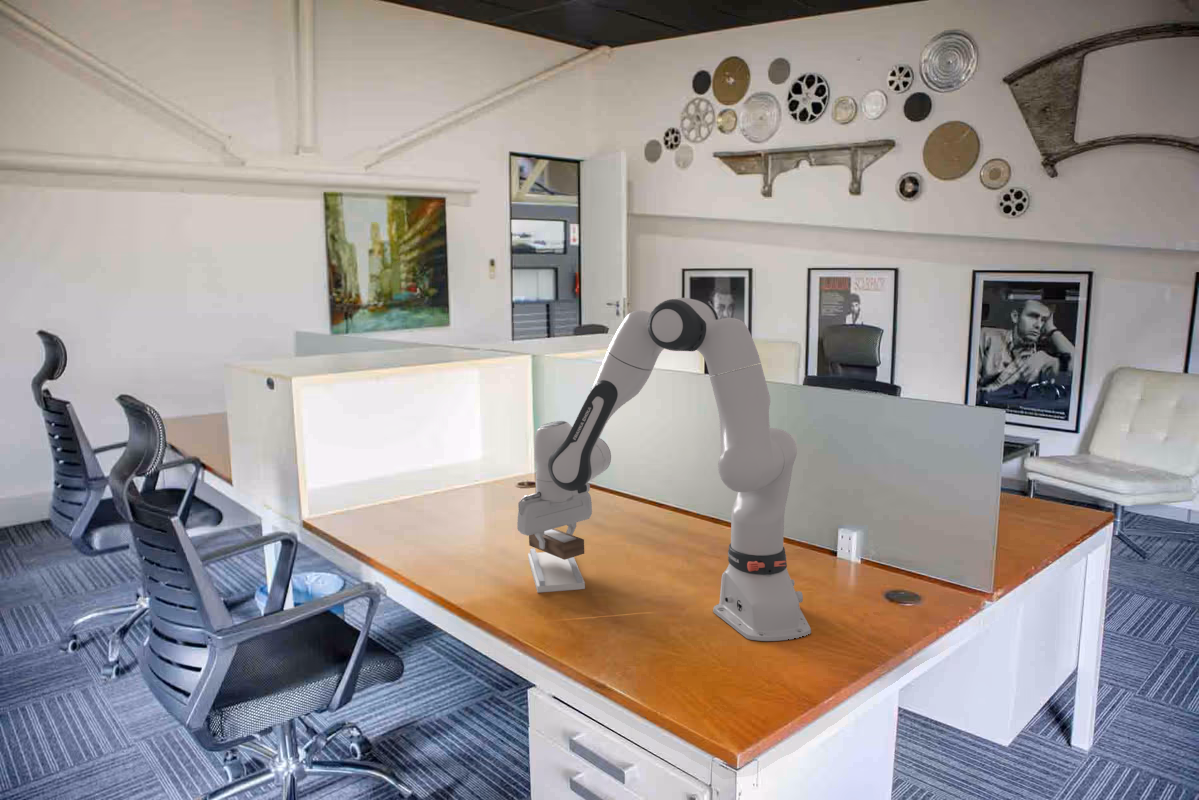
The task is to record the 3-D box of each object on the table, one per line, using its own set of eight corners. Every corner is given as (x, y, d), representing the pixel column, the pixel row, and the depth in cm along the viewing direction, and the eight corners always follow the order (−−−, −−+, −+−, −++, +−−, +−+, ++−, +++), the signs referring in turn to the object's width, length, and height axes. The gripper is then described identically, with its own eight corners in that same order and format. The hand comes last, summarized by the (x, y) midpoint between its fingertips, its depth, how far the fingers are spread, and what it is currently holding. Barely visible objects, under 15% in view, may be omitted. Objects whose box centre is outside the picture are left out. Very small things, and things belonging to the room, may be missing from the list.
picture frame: (584, 553, 194) (584, 538, 194) (564, 559, 190) (564, 544, 190) (548, 539, 205) (548, 525, 204) (529, 545, 201) (528, 530, 200)
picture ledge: (584, 588, 189) (584, 577, 189) (537, 592, 187) (537, 581, 187) (570, 555, 210) (570, 545, 210) (528, 558, 208) (528, 548, 208)
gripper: (526, 499, 186) (528, 558, 188) (595, 483, 199) (596, 537, 201) (510, 494, 191) (513, 551, 193) (578, 478, 204) (580, 532, 206)
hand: (556, 544), depth 197 cm, fingers closed on picture frame, 6 cm apart
